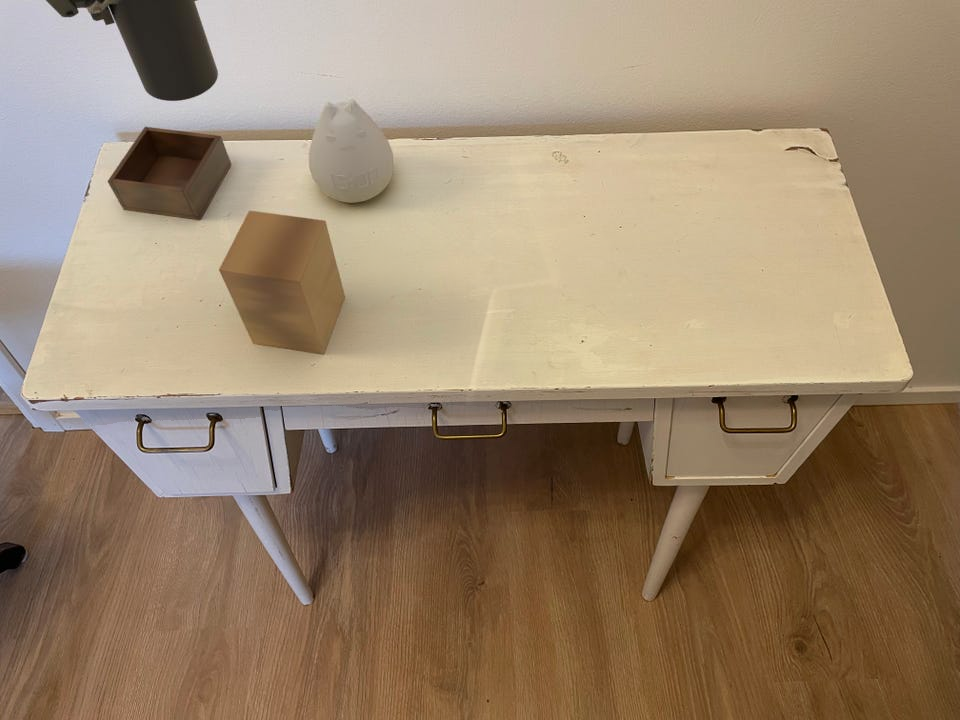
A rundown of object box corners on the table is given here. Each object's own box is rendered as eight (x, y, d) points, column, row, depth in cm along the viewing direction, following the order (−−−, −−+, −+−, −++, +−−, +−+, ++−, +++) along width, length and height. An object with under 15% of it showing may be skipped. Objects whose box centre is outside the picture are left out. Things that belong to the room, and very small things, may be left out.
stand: (252, 343, 78) (218, 269, 68) (277, 287, 82) (249, 210, 73) (323, 354, 77) (299, 281, 67) (345, 296, 82) (325, 220, 72)
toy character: (318, 218, 88) (296, 138, 79) (311, 161, 94) (291, 80, 84) (402, 206, 90) (391, 125, 80) (390, 150, 95) (379, 69, 85)
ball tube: (129, 97, 60) (75, -21, 52) (162, 52, 64) (116, -64, 56) (201, 106, 60) (157, -12, 52) (230, 61, 63) (194, -56, 55)
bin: (123, 209, 90) (106, 181, 86) (158, 155, 95) (144, 126, 91) (200, 220, 88) (187, 191, 85) (231, 164, 94) (221, 135, 90)
